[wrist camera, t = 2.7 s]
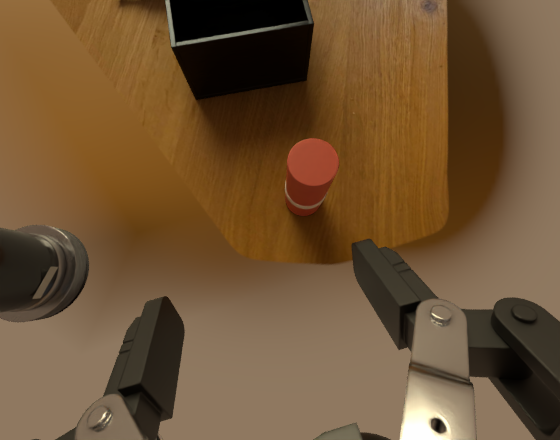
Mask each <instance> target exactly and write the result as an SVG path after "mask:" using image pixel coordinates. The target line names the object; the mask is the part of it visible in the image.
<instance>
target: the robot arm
mask: <svg viewBox="0 0 560 440" xmlns="http://www.w3.org/2000/svg"><path fill="white" fill-rule="evenodd" d="M352 256H353V266H354V273H355V276H356V279H357V281H358V283H359V285H360V287H361V288H362V290H363V292H364V293H365V295H366V297H367V298H368V300H369V302H370V303H371V305H372V307H373V308H374V310H375V311H376V313H377V315H378V317H379V318H380V320H381V321H382V323H383V325H384V326H385V328H386V330H387V331H388V333H389V335H390V336H391V338H392V340H393V341H394V343H395V345H396V346H397V348H398V349H399V350H400V349H404V348H407V347H408V348H409V349H410V351H411V359H410V364H409V370H408V378H407V386H406V394H405V402H404V411H403V419H402V427H401V435H400V440H477V435H476V416H475V399H474V388H473V384H472V383H471V382H470V379H469V376H472V377H488V378H489V379H490V380H491V382H492V383H493V384H494V386H495V387H496V388H497V389H498V391H499V392H500V394H501V395H502V396H503V398H504V399H505V400H506V401H507V403H508V404H509V405H510V407H511V408H512V409H513V411H514V412H515V413H516V414H517V416H518V417H519V418H520V420H521V421H522V422H523V424H524V425H525V426H526V428H527V429H528V430H529V431H530V433H531V434H532V435H533V437H534V438H535V439H536V440H560V322H559V321H558V320H557V319H556V318H554V317H553V316H552V315H551V314H550V313H548V312H547V311H546V310H545V309H544V308H542V307H541V306H539V305H537V304H535V303H533V302H530V301H528V300H525V299H520V298H504V299H501V300H499V301H497V302H496V304H495V306H494V309H493V310H465V309H460V308H459V307H458V306H456V305H455V304H453V303H451V302H449V301H447V300H443V299H439V298H438V297H437V296H436V295H435V294H434V293H433V292H432V291H431V290H430V289H429V288H428V287H427V285H426V284H425V283H424V282H423V281H422V280H421V279H420V278H419V277H418V275H417V274H416V273H415V272H414V271H413V270H411V268H410V267H409V266H408V265H407V263H405V262H404V260H403V259H402V258H401V257H400V256H399V255H398V253H396V252H395V251H393V250H391V249H389V248H387V247H382V248H378V247H377V246H376V245H375V244H374V242H373V241H372V240H371V239H366V240H362V241H359V242H355V243H352ZM65 269H66V261H65V256H64V253H63V251H62V249H61V247H60V246H59V245H58V244H57V243H56V242H55V241H54V240H53V239H51V238H49V237H47V236H43V235H39V234H33V233H24V232H19V231H14V230H9V229H4V228H0V313H2V312H19V311H27V310H31V309H34V308H36V307H39V306H40V305H42V304H44V303H45V302H47V301H48V300H49V299H50V298H51V297H52V296H53V295H54V294H55V293H56V291H57V290H58V289H59V287H60V285H61V283H62V281H63V278H64V275H65ZM183 340H184V324H183V321H182V319H181V317H180V316H179V314H178V313H177V311H176V309H175V308H174V306H173V304H172V303H171V301H170V300H169V298H168V297H166V296H164V297H161V298H157V299H154V300H150V301H147V302H146V304H145V306H144V309H143V312H142V315H141V317H137V318H136V319H135V320H134V321H133V323H132V324H131V326H130V327H129V328H128V330H127V332H126V335H125V338H124V340H123V345H122V346H121V349H120V351H119V355H118V357H117V360H116V362H115V365H114V368H113V371H112V373H111V376H110V379H109V382H108V385H107V388H106V390H105V393H104V395H103V397H102V398H100V399H99V400H97V401H96V402H94V403H93V404H92V405H91V406H90V407H89V408H88V409H87V410H86V412H85V413H84V414H83V416H82V417H81V419H80V420H79V422H78V424H77V427H75V428H74V429H72V430H70V431H69V432H67V433H66V434H65V435H62V436H61V437H59V438H58V439H56V440H163V439H162V437H161V436H160V434H159V433H158V430H159V425H160V422H161V421H164V420H167V419H171V418H172V415H173V409H174V401H175V395H176V388H177V381H178V374H179V367H180V361H181V354H182V347H183ZM34 440H39V439H34ZM314 440H390V439H388V438H386V437H383V436H380V435H377V434H371V433H361V432H360V431H359V428H358V426H357V423H353V424H350V425H347V426H344V427H340V428H337V429H334V430H331V431H328V432H324V433H323V434H321V435H320V436H318V437H317V438H315V439H314Z"/></svg>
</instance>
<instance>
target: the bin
mask: <svg viewBox="0 0 560 440" xmlns="http://www.w3.org/2000/svg"><path fill="white" fill-rule="evenodd" d="M165 5H166V12H167V20H168V27H169V34H170V42H171V48H172V50H173V52H174V54H175V56H176V59H177V61H178V63H179V65H180V67H181V69H182V71H183V74H184V76H185V78H186V80H187V82H188V84H189V86H190V88H191V91H192V93H193V95H194V97H195V99H196V100H198V99H204V98H210V97H215V96H221V95H227V94H232V93H238V92H244V91H249V90H255V89H261V88H266V87H272V86H278V85H283V84H289V83H295V82H300V81H306V80H307V74H308V66H309V58H310V50H311V42H312V35H313V27H314V22H313V18H312V15H311V11H310V7H309V4H308V0H165Z"/></svg>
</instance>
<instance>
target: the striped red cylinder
mask: <svg viewBox="0 0 560 440" xmlns="http://www.w3.org/2000/svg"><path fill="white" fill-rule="evenodd" d="M338 168H339V158H338V155H337V153H336V151H335V149H334V148H333V147H332V146H331V145H330V144H329V143H327V142H325V141H323V140H320V139H315V138H310V139H305V140H302V141H300V142H298V143H297V144H295V145H294V146H293V148H292V149H291V150H290V152H289V154H288V159H287V175H286V183H285V193H286V194H285V200H286V204H287V207H288V208H289V209H290V210H291V211H292V212H293V213H295V214H297V215H300V216H308V215H311V214H313V213H314V212H316V211H317V210H318V208H319V207H320V205H321V203H322V202H323V200H324V199H325V197H326V195H327V192H328V189H329V187H330V185H331V183H332V181H333V179H334V177H335V175H336V173H337V171H338Z"/></svg>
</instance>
